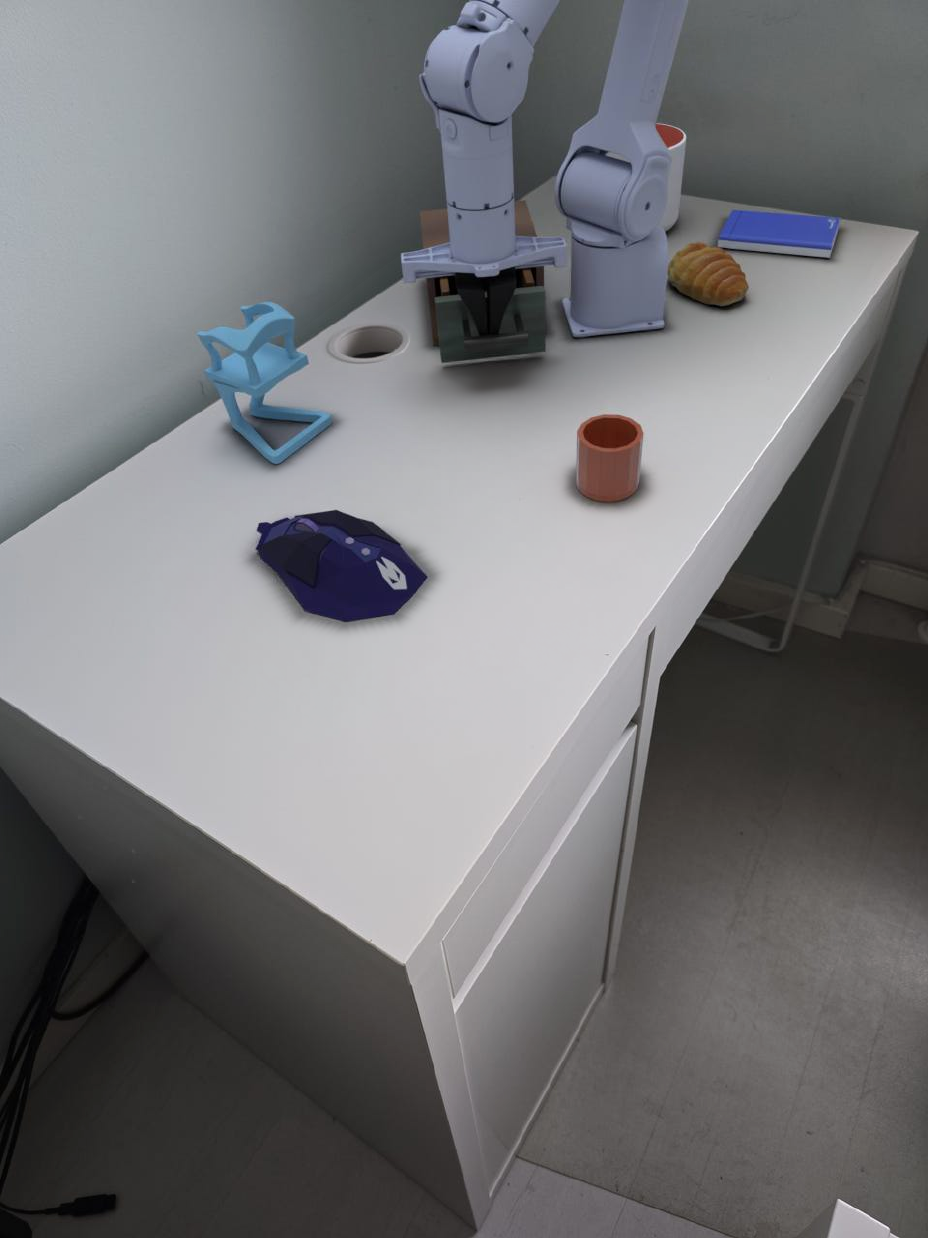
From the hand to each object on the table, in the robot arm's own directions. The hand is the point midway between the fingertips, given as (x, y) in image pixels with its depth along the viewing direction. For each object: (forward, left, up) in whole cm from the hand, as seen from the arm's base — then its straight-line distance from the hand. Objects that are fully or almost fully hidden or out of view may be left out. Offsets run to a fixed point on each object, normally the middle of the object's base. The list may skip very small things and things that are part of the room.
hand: (488, 345), depth 83 cm
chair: (+21, +5, -4) cm, 22 cm away
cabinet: (-1, -15, -3) cm, 15 cm away
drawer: (-1, -6, -2) cm, 7 cm away
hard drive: (-36, -24, -4) cm, 43 cm away
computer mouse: (+15, +25, -4) cm, 30 cm away
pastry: (-25, -14, -4) cm, 29 cm away
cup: (-21, -32, -4) cm, 38 cm away
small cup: (-8, +18, -3) cm, 20 cm away
